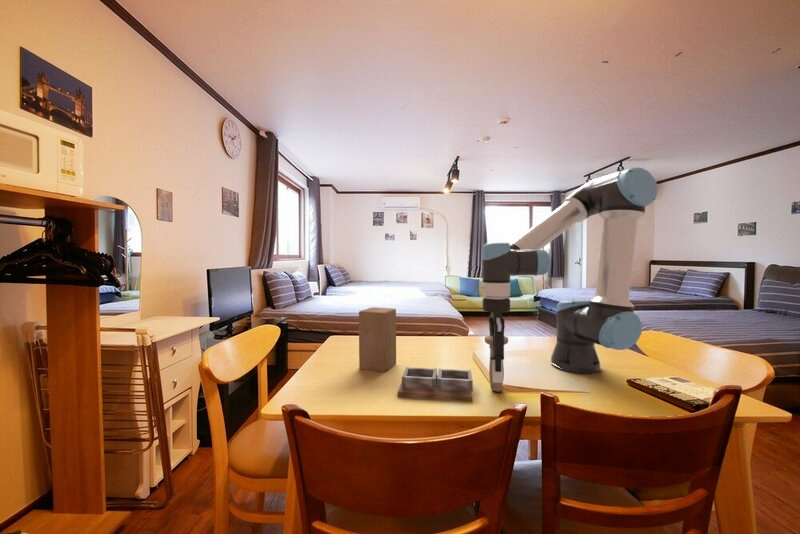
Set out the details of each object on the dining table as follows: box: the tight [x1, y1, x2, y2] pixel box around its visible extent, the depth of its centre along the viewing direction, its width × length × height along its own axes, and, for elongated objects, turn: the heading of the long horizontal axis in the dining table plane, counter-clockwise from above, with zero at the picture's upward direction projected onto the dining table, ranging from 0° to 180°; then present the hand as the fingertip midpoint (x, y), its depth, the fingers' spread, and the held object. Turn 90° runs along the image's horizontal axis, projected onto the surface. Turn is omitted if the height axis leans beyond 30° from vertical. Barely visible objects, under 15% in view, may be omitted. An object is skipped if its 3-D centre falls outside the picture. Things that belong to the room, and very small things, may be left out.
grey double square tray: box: [397, 366, 474, 403], centre depth 95 cm, size 20×14×4 cm
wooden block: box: [358, 307, 397, 373], centre depth 115 cm, size 10×10×20 cm
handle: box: [484, 335, 509, 393], centre depth 93 cm, size 5×6×15 cm
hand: (496, 378), depth 93 cm, fingers closed on handle, 4 cm apart
